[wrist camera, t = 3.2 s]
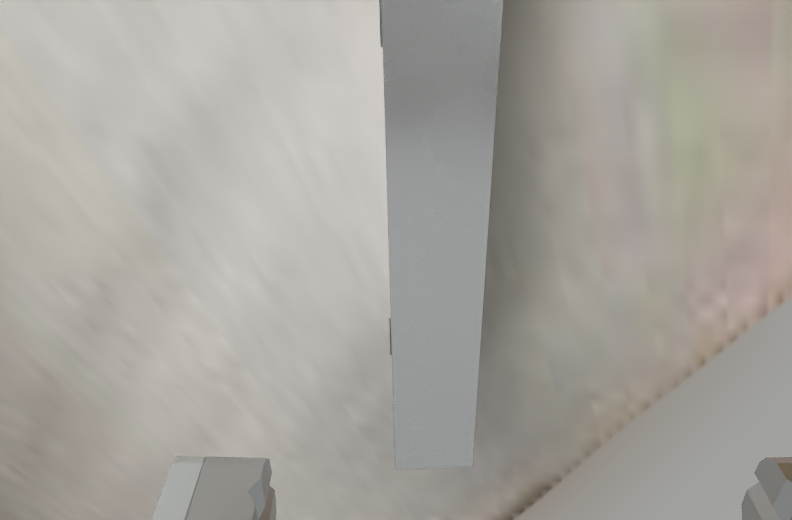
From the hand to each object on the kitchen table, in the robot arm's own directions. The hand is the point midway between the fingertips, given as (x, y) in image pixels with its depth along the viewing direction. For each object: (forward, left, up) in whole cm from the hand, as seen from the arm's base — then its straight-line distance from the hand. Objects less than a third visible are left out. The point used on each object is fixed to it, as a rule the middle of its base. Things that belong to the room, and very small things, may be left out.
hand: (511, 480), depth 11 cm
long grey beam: (-1, 0, -12) cm, 12 cm away
